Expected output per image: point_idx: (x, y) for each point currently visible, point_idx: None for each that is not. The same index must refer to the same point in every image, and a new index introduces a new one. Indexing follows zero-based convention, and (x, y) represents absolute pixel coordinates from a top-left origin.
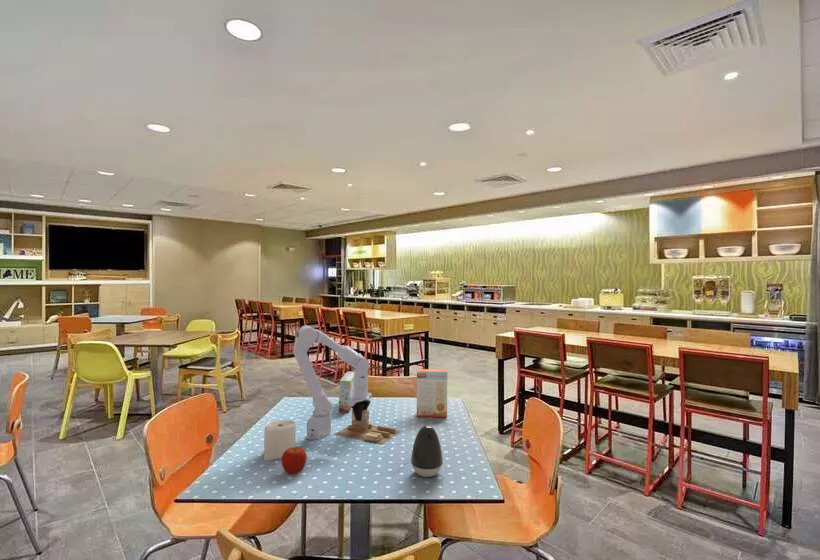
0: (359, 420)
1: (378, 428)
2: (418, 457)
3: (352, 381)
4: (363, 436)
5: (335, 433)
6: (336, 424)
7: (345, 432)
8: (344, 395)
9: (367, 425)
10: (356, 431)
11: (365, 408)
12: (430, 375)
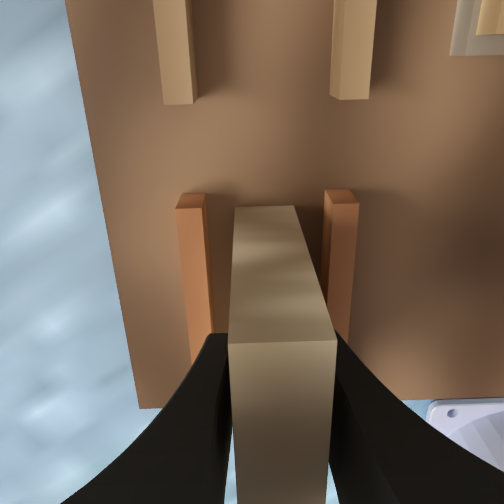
0: (340, 336)
1: (195, 80)
2: None
3: None
4: (479, 122)
5: (485, 395)
6: (225, 500)
7: (431, 344)
8: None
9: (265, 225)
10: (362, 276)
11: (212, 442)
12: None
